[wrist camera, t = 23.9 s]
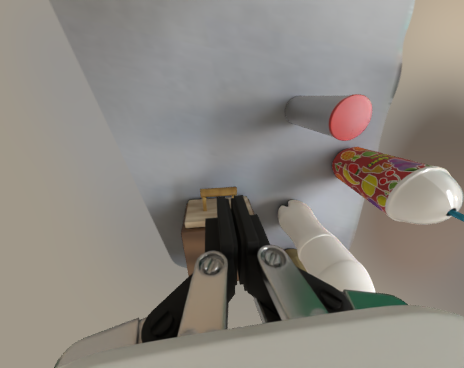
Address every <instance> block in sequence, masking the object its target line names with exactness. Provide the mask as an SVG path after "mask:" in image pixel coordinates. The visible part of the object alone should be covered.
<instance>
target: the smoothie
mask: <svg viewBox="0 0 464 368" xmlns="http://www.w3.org/2000/svg"><path fill="white" fill-rule="evenodd" d="M332 169H333V171H334V174H335V176H336V177H337V178H338V179H340V180H341V181H342V182H344V183H345V184H347V185H348V186H349V187H351V188H352V189H353V190H355V191H356V192H357V193H359V194H360V195H361V196H363V197H364V198H365V199H367V200H368V201H369V202H371V203H372V204H373V205H375V206H376V207H377V208H379V209H380V210H381V211H383V212H384V213H386V214H387V215H388V216H389V217H390V218H391V219H393V220H395V221H400V222H408V223H413V224H420V225H425V224H435V223H439V222H442V221H445V220H447V219H449V218H451V217H452V216H453V217H455V218H457V219H460V220H461V221H464V215H463V214H461V213H459V212H458V211H459V209H460V208H461V206H462V203H463V192H462V189H461V187H460V186H459V184H458V183H457V182H456V181H455V179H453V178H452V177H451V176H450V174H449V173H448V171H447V170H446V169H444V168H441V167H437V166H430V165H426V164H422V163H418V162H414V161H410V160H406V159H403V158H399V157H395V156H391V155H387V154H383V153H379V152H375V151H371V150H367V149H363V148H359V147H352V148H348V149H345V150H343V151H341V152H340V153H338V155H337V156H336V157H335V159H334V161H333V164H332Z"/></svg>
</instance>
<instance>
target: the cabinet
mask: <svg viewBox="0 0 464 368" xmlns="http://www.w3.org/2000/svg"><path fill="white" fill-rule="evenodd" d="M248 201H249V199H248ZM249 204H250V202H249ZM250 206H251V204H250ZM187 207H188V203H187V204H186V210H185V215H184V220H183V225H182V231H181V235H182V241H183V246H184V252H185V258H186V263H187V269H188V275H189V276H190V275H191V274H192V273H193V271H194V267H195V263H196V261H197V259H198V257H199V256H200V255H202V254H203V253H205V228H194V229H192V228H185V219H186V213H187ZM251 209H252V207H251ZM252 212H253V209H252ZM253 214H254V212H253ZM254 215H255V214H254ZM237 281H239V277H238V271H237Z"/></svg>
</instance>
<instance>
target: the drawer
mask: <svg viewBox="0 0 464 368" xmlns="http://www.w3.org/2000/svg"><path fill="white" fill-rule="evenodd" d="M200 195H201V197H202V199H198V200H189V202H188V207H187V213H186V219H185V228H192V229H194V228H205V218H217V199H216V198H213V199H206V197H214V196H229V195H232V197H228V199H229V203H230V208H231V198H234V196H235V195H237V188H236V187H225V188H208V189H200ZM243 197H244V200H245V203H246V206H247V208H248V211H249V214H250V215H254V214H253V212H252V209H251V206H250V204H249V201H248V199H247V196H243ZM225 199H227V198H225Z"/></svg>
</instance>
